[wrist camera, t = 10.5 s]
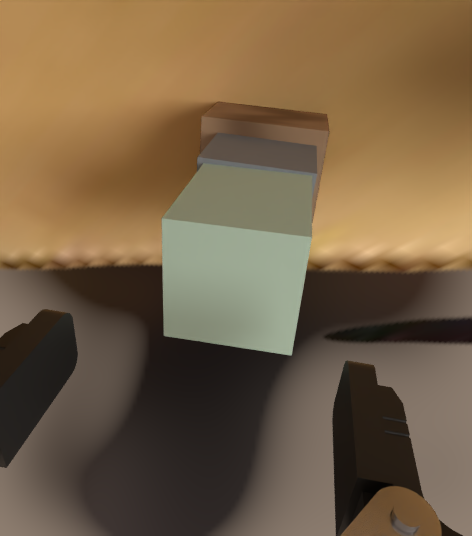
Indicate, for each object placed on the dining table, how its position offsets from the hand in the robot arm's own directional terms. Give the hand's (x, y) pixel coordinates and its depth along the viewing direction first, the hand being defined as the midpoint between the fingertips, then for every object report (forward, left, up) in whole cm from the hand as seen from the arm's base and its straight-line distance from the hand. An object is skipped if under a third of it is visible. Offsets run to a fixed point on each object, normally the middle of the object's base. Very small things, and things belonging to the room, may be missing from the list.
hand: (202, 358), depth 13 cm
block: (0, 0, -10) cm, 10 cm away
